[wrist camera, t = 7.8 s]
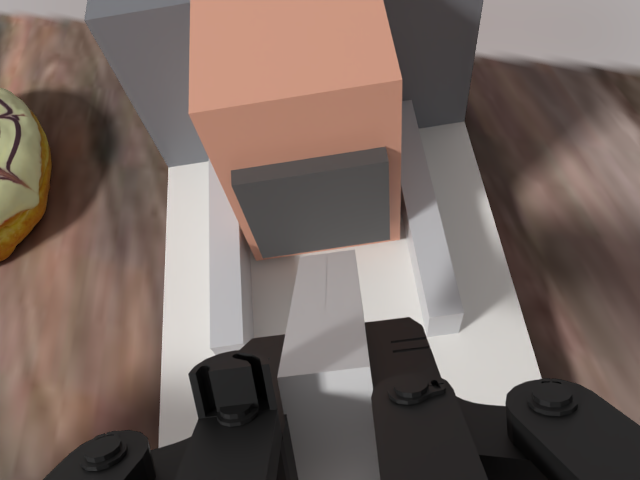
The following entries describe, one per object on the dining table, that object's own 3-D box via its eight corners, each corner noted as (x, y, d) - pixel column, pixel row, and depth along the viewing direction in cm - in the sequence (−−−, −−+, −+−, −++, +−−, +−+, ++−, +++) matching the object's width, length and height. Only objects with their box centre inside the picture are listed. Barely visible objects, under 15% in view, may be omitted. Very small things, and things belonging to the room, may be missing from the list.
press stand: (447, 96, 29) (469, -100, 21) (539, 413, 21) (638, 311, 13) (180, 138, 30) (92, -34, 21) (172, 461, 22) (27, 395, 13)
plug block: (381, 144, 26) (375, -34, 18) (402, 252, 23) (406, 95, 15) (251, 164, 26) (190, -3, 19) (256, 273, 24) (188, 130, 16)
